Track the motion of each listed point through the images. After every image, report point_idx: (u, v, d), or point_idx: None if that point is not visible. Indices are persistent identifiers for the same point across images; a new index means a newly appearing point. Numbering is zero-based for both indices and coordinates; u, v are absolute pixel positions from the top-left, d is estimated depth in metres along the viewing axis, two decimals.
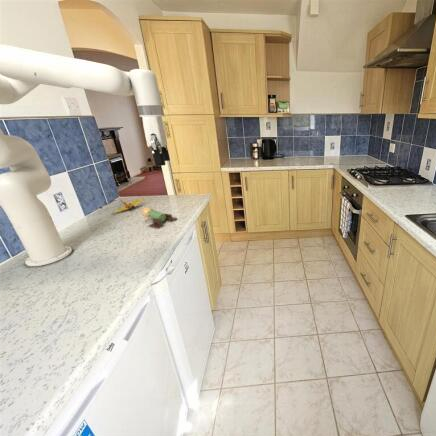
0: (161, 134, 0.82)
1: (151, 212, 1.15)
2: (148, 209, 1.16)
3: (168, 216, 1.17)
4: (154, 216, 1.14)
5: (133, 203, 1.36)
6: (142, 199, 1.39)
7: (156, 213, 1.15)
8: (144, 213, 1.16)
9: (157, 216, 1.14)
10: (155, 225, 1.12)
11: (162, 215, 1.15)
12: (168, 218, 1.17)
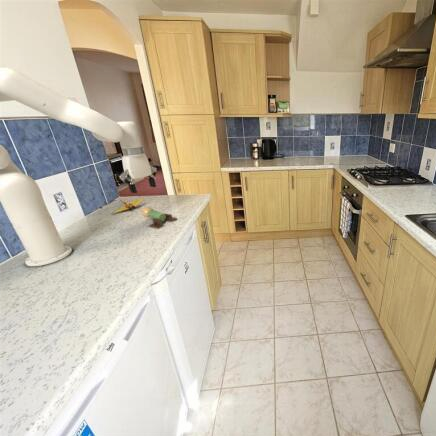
0: (133, 170, 1.04)
1: (151, 212, 1.15)
2: (148, 209, 1.16)
3: (168, 216, 1.17)
4: (154, 216, 1.14)
5: (133, 203, 1.36)
6: (142, 199, 1.39)
7: (156, 213, 1.15)
8: (144, 213, 1.16)
9: (157, 216, 1.14)
10: (155, 225, 1.12)
11: (162, 215, 1.15)
12: (168, 218, 1.17)
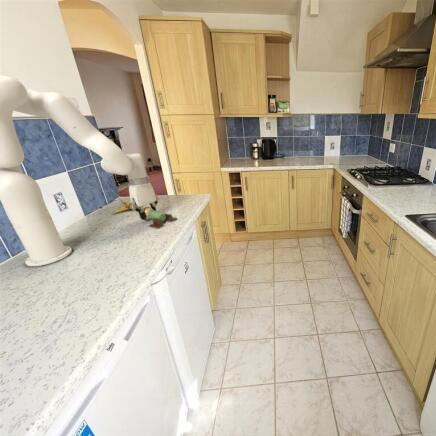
0: (139, 198, 1.11)
1: (151, 212, 1.15)
2: (148, 209, 1.16)
3: (168, 216, 1.17)
4: (154, 216, 1.14)
5: None
6: None
7: (156, 213, 1.15)
8: None
9: (157, 216, 1.14)
10: (155, 225, 1.12)
11: (162, 215, 1.15)
12: (168, 218, 1.17)
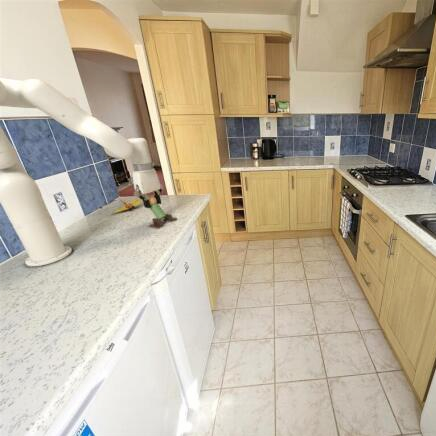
0: (143, 185, 1.06)
1: (155, 207, 1.13)
2: (153, 201, 1.13)
3: (168, 216, 1.17)
4: (156, 213, 1.13)
5: (133, 203, 1.36)
6: None
7: (159, 212, 1.13)
8: None
9: (159, 216, 1.13)
10: (155, 225, 1.12)
11: (163, 216, 1.15)
12: (168, 218, 1.17)
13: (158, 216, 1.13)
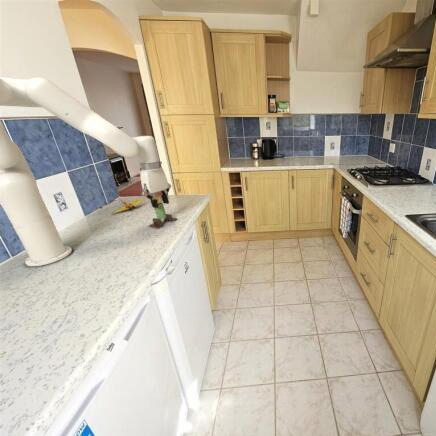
0: (151, 184, 1.04)
1: (159, 208, 1.12)
2: (159, 202, 1.11)
3: (168, 216, 1.17)
4: (158, 213, 1.12)
5: (133, 203, 1.36)
6: (142, 199, 1.39)
7: (161, 213, 1.13)
8: None
9: (160, 217, 1.13)
10: (155, 225, 1.12)
11: None
12: (168, 218, 1.17)
13: (159, 217, 1.13)
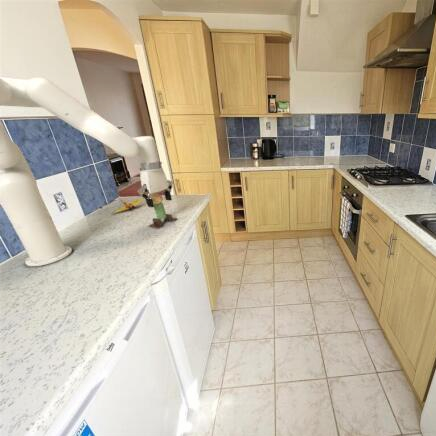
0: (151, 184, 1.04)
1: (159, 208, 1.12)
2: (159, 202, 1.11)
3: (168, 216, 1.17)
4: (158, 213, 1.12)
5: (133, 203, 1.36)
6: (142, 199, 1.39)
7: (162, 213, 1.13)
8: None
9: (160, 217, 1.13)
10: (155, 225, 1.12)
11: None
12: (168, 218, 1.17)
13: (159, 217, 1.13)
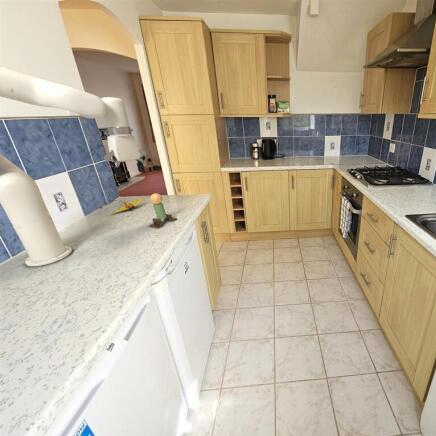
0: (119, 151, 0.96)
1: (159, 208, 1.12)
2: (159, 202, 1.11)
3: (168, 216, 1.17)
4: (158, 213, 1.12)
5: (133, 203, 1.36)
6: (142, 199, 1.39)
7: (162, 213, 1.13)
8: (152, 202, 1.10)
9: (160, 217, 1.13)
10: (155, 225, 1.12)
11: None
12: (168, 218, 1.17)
13: (159, 217, 1.13)
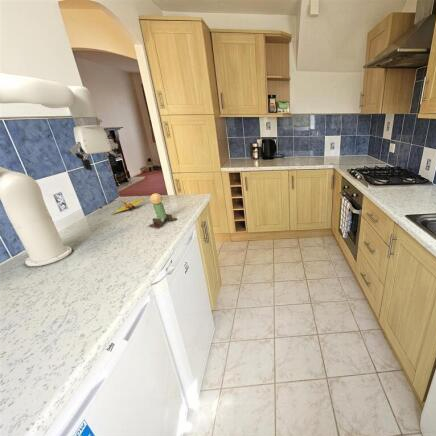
0: (86, 143, 0.92)
1: (159, 208, 1.12)
2: (159, 202, 1.11)
3: (168, 216, 1.17)
4: (158, 213, 1.12)
5: (133, 203, 1.36)
6: (142, 199, 1.39)
7: (162, 213, 1.13)
8: (152, 202, 1.10)
9: (160, 217, 1.13)
10: (155, 225, 1.12)
11: None
12: (168, 218, 1.17)
13: (159, 217, 1.13)
